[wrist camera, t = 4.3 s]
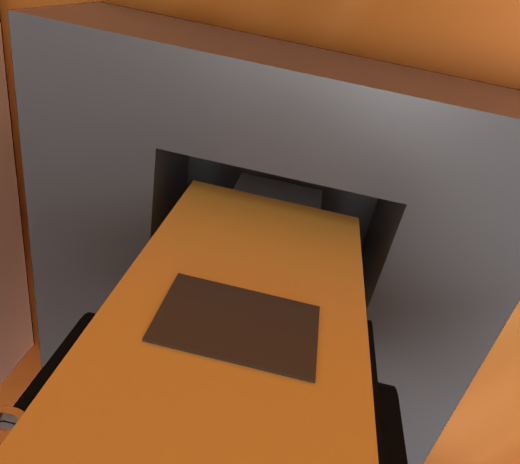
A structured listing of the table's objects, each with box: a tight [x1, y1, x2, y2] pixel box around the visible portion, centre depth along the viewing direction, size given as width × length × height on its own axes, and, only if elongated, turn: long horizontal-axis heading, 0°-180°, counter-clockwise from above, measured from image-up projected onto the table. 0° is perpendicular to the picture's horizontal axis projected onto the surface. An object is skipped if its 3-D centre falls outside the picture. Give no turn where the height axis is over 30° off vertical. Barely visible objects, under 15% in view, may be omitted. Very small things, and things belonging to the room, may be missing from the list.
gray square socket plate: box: [8, 2, 520, 464], centre depth 14 cm, size 12×12×4 cm
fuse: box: [0, 172, 379, 464], centre depth 10 cm, size 4×6×10 cm, turn 170°
